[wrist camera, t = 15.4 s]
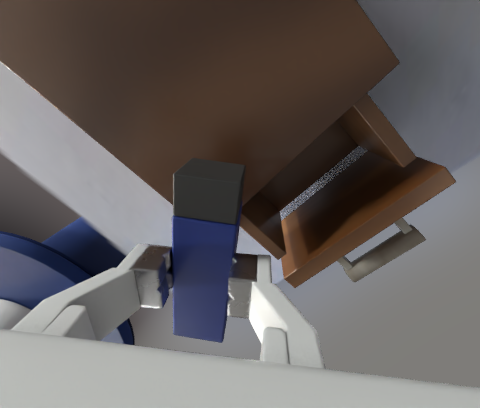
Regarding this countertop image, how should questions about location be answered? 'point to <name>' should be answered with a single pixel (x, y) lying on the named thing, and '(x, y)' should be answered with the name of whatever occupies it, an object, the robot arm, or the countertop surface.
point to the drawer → (345, 199)
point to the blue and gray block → (204, 244)
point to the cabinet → (197, 76)
